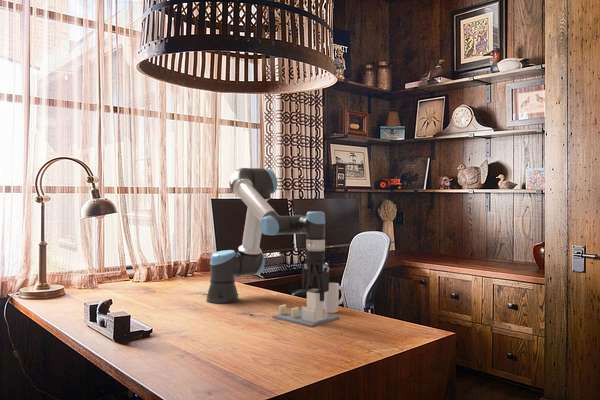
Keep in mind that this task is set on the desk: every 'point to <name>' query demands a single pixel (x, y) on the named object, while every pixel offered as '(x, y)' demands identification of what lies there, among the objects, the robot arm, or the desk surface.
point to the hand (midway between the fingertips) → (315, 307)
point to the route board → (303, 316)
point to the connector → (314, 303)
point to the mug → (333, 298)
